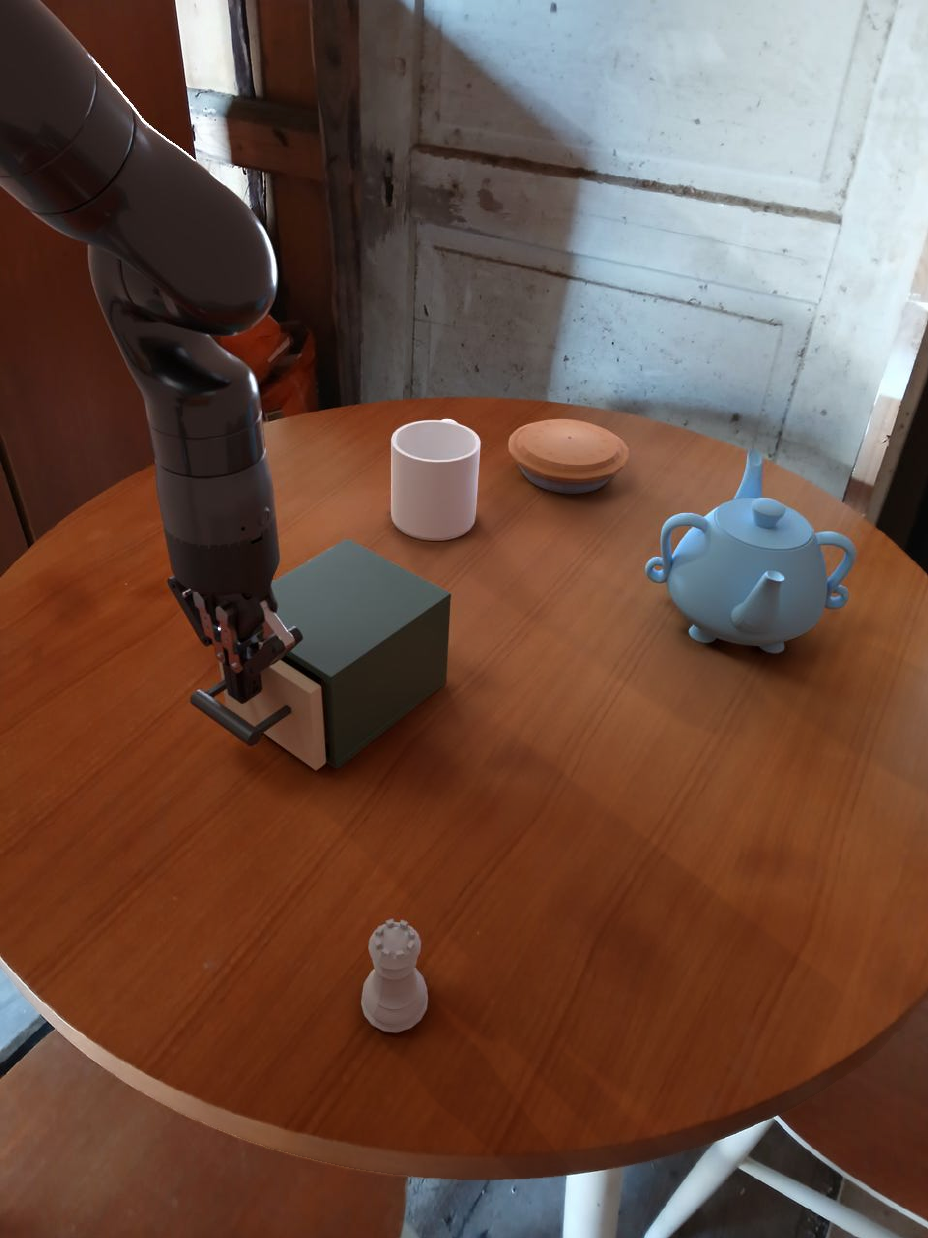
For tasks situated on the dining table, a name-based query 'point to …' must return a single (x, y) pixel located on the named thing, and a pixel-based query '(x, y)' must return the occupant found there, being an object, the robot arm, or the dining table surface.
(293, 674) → the drawer
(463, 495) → the mug
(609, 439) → the pie
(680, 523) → the teapot
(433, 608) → the cabinet
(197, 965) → the dining table surface
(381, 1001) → the rook chess piece
